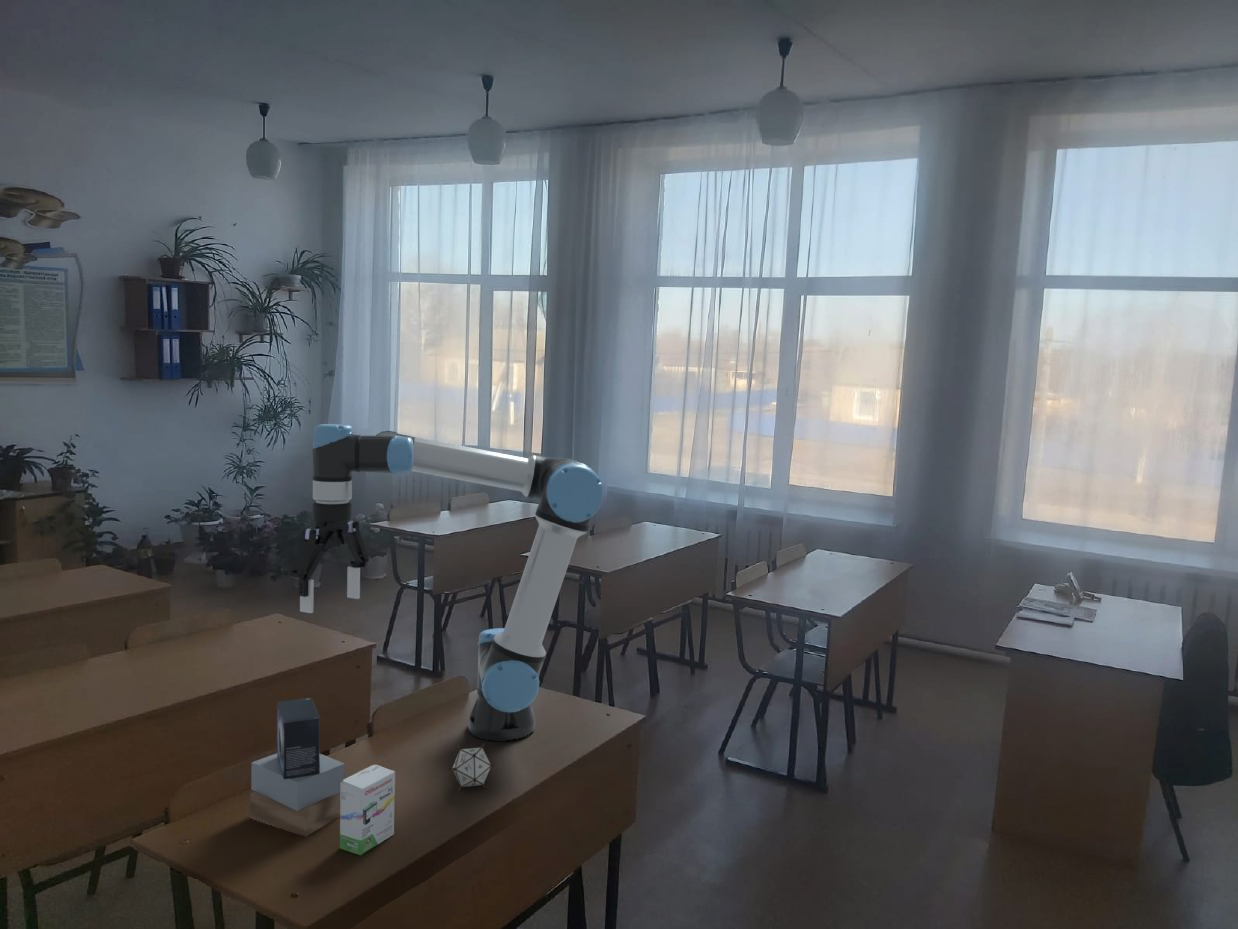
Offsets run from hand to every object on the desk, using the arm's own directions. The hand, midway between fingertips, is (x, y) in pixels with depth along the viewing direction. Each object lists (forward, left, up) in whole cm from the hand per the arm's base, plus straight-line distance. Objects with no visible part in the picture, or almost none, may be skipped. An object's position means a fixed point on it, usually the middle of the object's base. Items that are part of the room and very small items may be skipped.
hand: (330, 605), depth 181 cm
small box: (+21, +11, -23) cm, 33 cm away
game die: (-4, +32, -33) cm, 46 cm away
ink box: (+22, +28, -33) cm, 49 cm away
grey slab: (+20, +11, -28) cm, 36 cm away
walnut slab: (+21, +11, -33) cm, 41 cm away
